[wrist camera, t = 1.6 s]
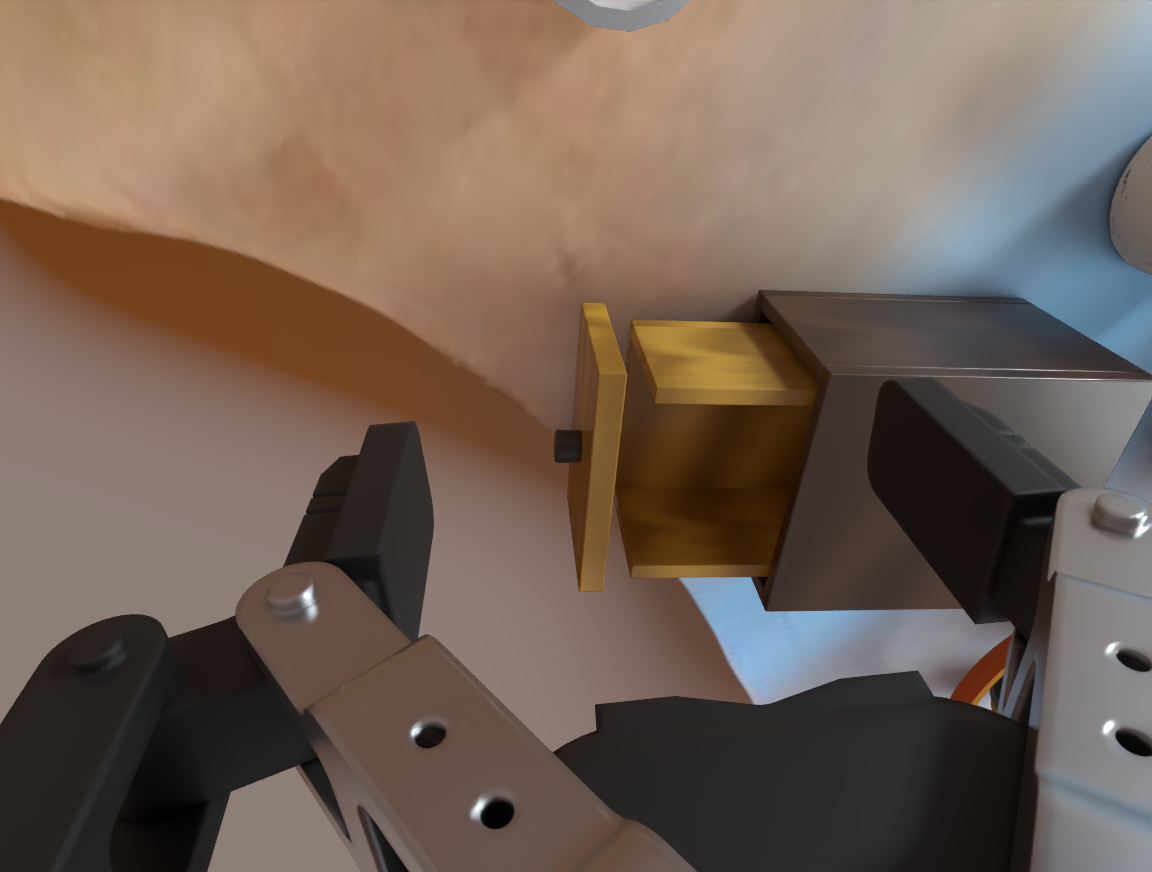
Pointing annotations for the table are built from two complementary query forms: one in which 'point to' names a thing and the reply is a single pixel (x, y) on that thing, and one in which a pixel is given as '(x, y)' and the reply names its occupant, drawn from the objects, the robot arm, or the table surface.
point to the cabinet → (971, 372)
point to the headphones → (985, 677)
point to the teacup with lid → (1134, 211)
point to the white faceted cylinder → (623, 12)
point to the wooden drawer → (682, 445)
